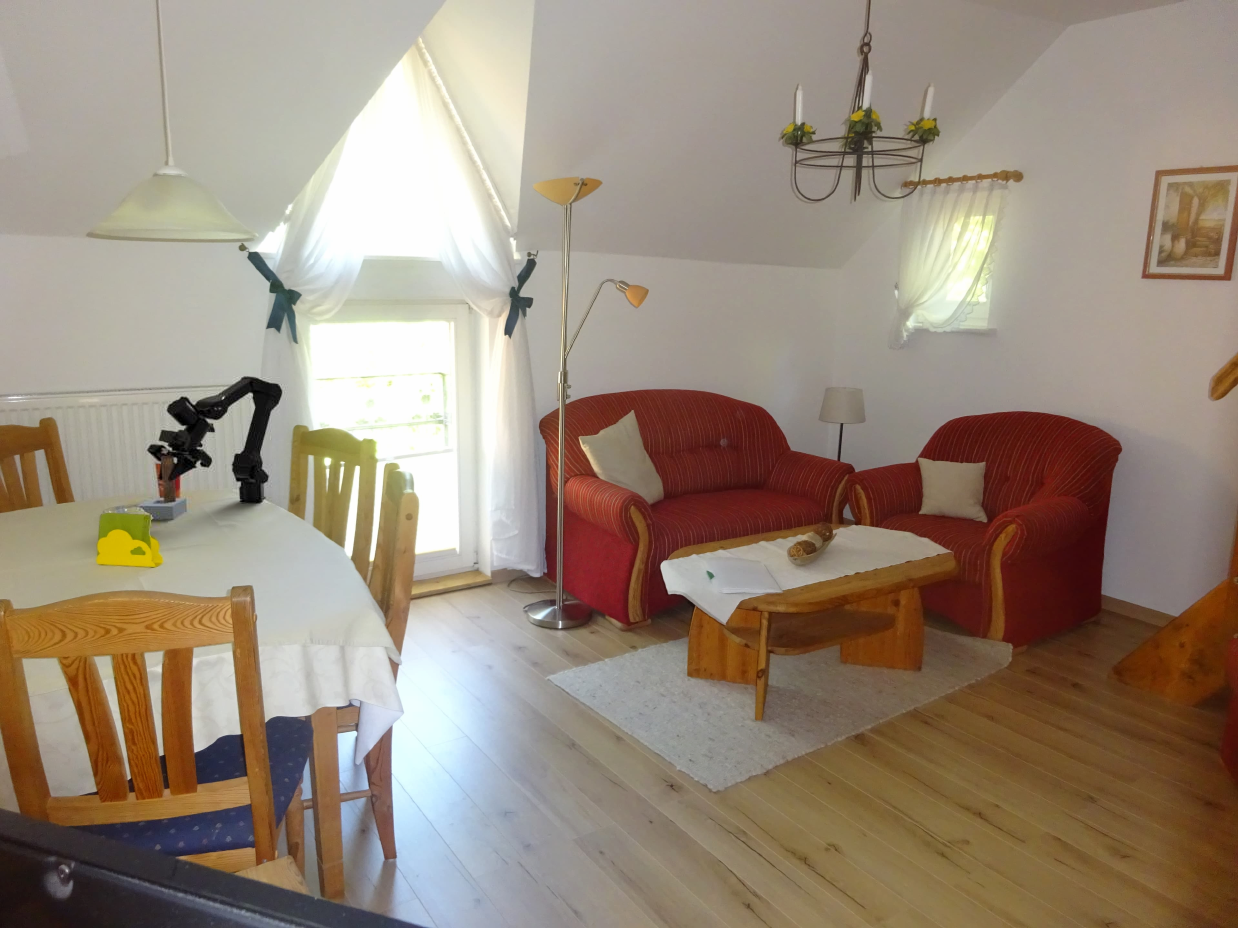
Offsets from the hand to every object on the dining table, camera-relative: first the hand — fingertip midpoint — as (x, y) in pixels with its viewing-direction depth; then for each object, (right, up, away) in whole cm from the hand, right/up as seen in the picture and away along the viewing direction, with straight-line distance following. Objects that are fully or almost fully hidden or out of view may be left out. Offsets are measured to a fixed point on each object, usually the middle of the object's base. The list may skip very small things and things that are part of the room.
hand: (164, 479), depth 238 cm
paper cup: (-15, -7, +31) cm, 35 cm away
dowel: (0, -6, +3) cm, 7 cm away
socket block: (-8, -11, +14) cm, 19 cm away
